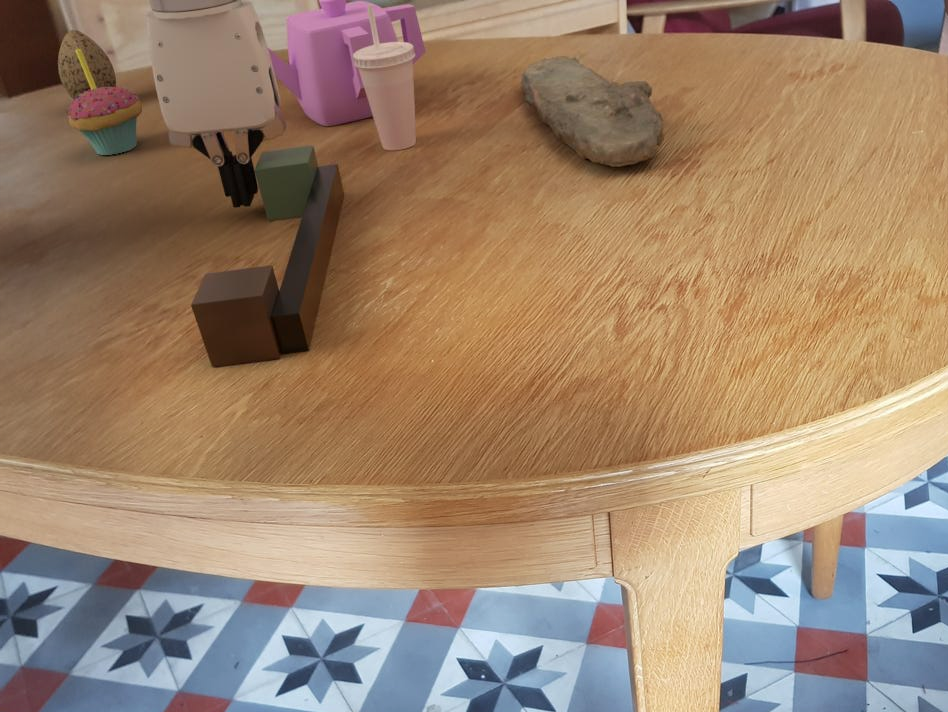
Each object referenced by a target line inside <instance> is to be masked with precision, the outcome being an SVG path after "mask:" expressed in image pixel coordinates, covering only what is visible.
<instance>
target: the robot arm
mask: <svg viewBox="0 0 948 712" xmlns="http://www.w3.org/2000/svg"><path fill="white" fill-rule="evenodd" d="M148 1H149V4H150V8H151V10H150V11H149V12H148V13H147V14H146V15H145V20H146V21H145V23H146V33H147V34H146V35H147V43H148V50H149V57H150V63H151V69H152V75H153V81H154V86H155V90H156V95H157V99H158V104H159V109H160V111H161V115H162V119H163V120H164V124H165V126H166V128H167V129H168V142H169V143H170V145H172V146H174V147H181V148H187V149H195V150H197V151H198V152H199V153H201V154H202V155H203V156H204V157H206V158H207V159H209V160H210V161H211V163H212V164H213V166H215V167H217V169H218V173H219V178H220V181H221V184H222V189H223V193H224V195H225V197H226V198H228V197H230V199H231V204H232V207H233V208H234V209H236V208H241V207H242V206H243V207H245V208H246V207H251V205H252V203H253V200H254V198H255V195H257V194H258V192H259V186H258V182H257V178H256V175H255V171H254V169H255V167H254V162H253V159H252V157H253V155H254V153H255V152H256V151H257V149H258V148H259V147H260V146H261V144H262V143H264V142H267V141H270V140H272V139H275V138H278V137H281V136H283V135H284V134H285V132H286V130H287V125H286V122H285V119H284V118H283V115H282V112H281V111H280V109H281V95H280V90H279V89H280V88H279V85H278V81H277V77H276V76H275V73H274V69H273V65H272V62H271V58H270V54H269V51H268V48H269V47H268V44H267V41H266V37H265V33H264V31H263V28H262V25H261V22H260V20H259V17H258V13H257V12H256V8H255V6H254V4H253V2H252V0H148ZM232 131H233V134H234V135H233V136H234V147H235V148H234V149H235V154H233V152H232V151H231V150H230V148H229V145H228V143H227V140H226V138H225V135H224V133H223V132H232Z"/></svg>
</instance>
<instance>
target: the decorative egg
mask: <svg viewBox="0 0 948 712" xmlns="http://www.w3.org/2000/svg"><path fill="white" fill-rule="evenodd" d="M74 42H76V44H77V46H78V49H81V50H82V53H83V55H84V58H85V60H86V63H87V65H88V68H89V70H90V72H91V75H92V77H93V80H94V82H95V85H96V87H97V88H98V87H99V88H100V87H114V86H117V76H116V73H115V69H114V66H113V63H112V62H111V60H110V59H111V58H109V56H108V54H107V53H106V52H105V51H104V50H103V48H102V47H101V46H100V45H99V44H97V42H95V40H93V39H92V38H91V37H89V36H88V35H87V34H85V33H83V32H82V31H80V30H76V29H72V30H69V31H68V32H66V33H65V35H64V36H63V39H62V41H61V43H60V47H59V49H58V50H59V51H58V57H57V59H58V60H57V67H58V75H59V79H60V82H61V84H62V87H63V88H64V90H65V92H66V93H67V94H68V95H69V96H70V97H71V98H72V99H73V100H74V98H75V99H76V96H79V94H80V93H82V94H83V92H84V91H88V90H90V89H91V87H90V85H89V83H88V80H87V78H86V75H85V73H84V70H83V68H82V66H81V63H80V61H79V58H78V56H77V53H76V51H75V50H77V48H76V46H75V44H74Z"/></svg>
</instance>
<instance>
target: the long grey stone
mask: <svg viewBox="0 0 948 712" xmlns="http://www.w3.org/2000/svg"><path fill="white" fill-rule="evenodd" d="M520 85H521V86H520V88H521V91H522V92H523V93H524V94H525V95H524V96H525V99H524V101H525V102H526V103H527V104H528V105H529V106H531V107H532V108H533V109H536V111H537V113H538V115H537V116H538V117H539V119H540V122H541V124H546V125H548V127H549V128H550V129H551V130H552V133H553V135H554V136H555V137H556V138H558V139H561V140H562V142H563V143H565V144H566V145H568V146H569V148H571V149H572V150H573V151H575V152H576V154H577V155H578V156H579V157H580V159H582V160H589V161H590V162H592V163H599V164H602V165H605V166H609V167H612V168H615V167H618V168H619V167H624V166H627V165H636V164H638V163H640V162H644V161H647V160H648V159H652V158H654V157H655V154H656V150H657V149H656V147H657V146H659V147H661V145H662V143H663V141H664V139H665V137H664V120H663V116H662V112H660V111H659V110H658V109H656V108H655V105H654V104H653V103H652V101H651V99H650V98H651V96H652V94H653V87H652V86H650V84H649V83H648V82H647V81H645V80H642V81H641V80H638V81H628V82H627V81H626V82H624V83H622V84H621V83H619V82H616V81H611V82H610V81H609V80H608V79H606V78H603V76H602V75H600V74H599V73H598V72H594V70H593V69H592V68H590V67H589V68H588V67H587V66H585V65H584V64H582V63H580V61H579V60H578V59H577V57H572V58H570V57H569V56H565V55H562V56H555V57H550V58H546V57H545V58H542V59H541V60H539V61H535V62H533V63H531V64H530V65H529V66H528V67H527V68H525V69H524V71H523V72H522V74H521V82H520Z"/></svg>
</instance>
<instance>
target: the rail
mask: <svg viewBox="0 0 948 712" xmlns="http://www.w3.org/2000/svg"><path fill="white" fill-rule="evenodd" d="M344 197H345V190H344V186H343V181H342V177H341V172H340V168H339V164H338V163H335V164H327V165H320V166H319V165H318V167H317V170H316V173H315V177H314V180H313V183H312V186H311V190H310V193H309V196H308V199H307V203H306V206H305V209H304V212H303V216H302V217H301V219H300V222H299V226H298V229H297V231H296V235H295V239H294V242H293V245H292V249H291V252H290V255H289V258H288V261H287V263H286V264H287V265H286V268H285V271H284V275H283V278H282V281H281V285H280V288H279V294H278V297H277V300H276V303H275V307H274V310H273V313H272V316H271V318H272V321H273V325H274V328H275V332H276V335H277V339H278V342H279V346H280V349H281V355H283V354H290V353H292V354H293V353H298V352H299V353H301V352H306V351H307V352H308V351H310V347H311V342H312V338H313V333H314V329H315V325H316V321H317V315H318V311H319V307H320V302H321V298H322V294H323V293H322V292H323V289H324V286H325V280H326V278H327V277H326V276H327V272H328V267H329V263H330V258H331V254H332V249H333V247H334V246H333V245H334V241H335V236H336V232H337V227H338V223H339V219H340V214H341V211H342V210H341V209H342V206H343V201H344Z"/></svg>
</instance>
